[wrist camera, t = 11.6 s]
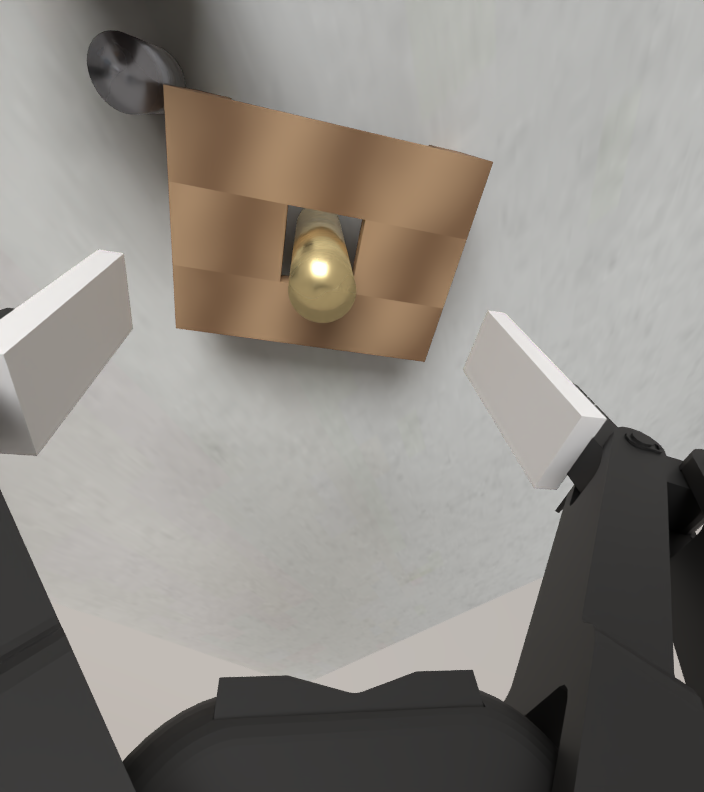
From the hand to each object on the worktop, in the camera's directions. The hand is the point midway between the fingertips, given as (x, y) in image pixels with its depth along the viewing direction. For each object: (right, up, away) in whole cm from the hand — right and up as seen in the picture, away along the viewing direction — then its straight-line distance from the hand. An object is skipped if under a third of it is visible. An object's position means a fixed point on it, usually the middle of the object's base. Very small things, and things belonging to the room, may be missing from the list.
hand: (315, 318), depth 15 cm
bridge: (-1, +9, +13) cm, 15 cm away
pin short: (-9, +15, +7) cm, 19 cm away
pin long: (-1, +9, +13) cm, 15 cm away
